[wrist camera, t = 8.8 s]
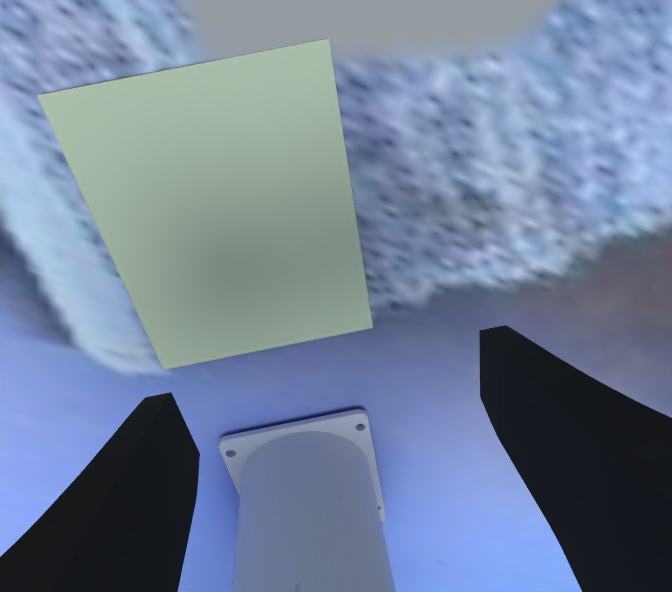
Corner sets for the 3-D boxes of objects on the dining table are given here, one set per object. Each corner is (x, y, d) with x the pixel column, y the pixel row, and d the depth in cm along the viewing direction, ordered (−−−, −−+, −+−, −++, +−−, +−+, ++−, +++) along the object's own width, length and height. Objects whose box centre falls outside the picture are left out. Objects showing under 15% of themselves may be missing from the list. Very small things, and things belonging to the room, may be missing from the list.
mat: (371, 323, 22) (373, 327, 21) (165, 364, 22) (163, 369, 21) (327, 38, 16) (328, 38, 15) (42, 94, 16) (36, 95, 15)
